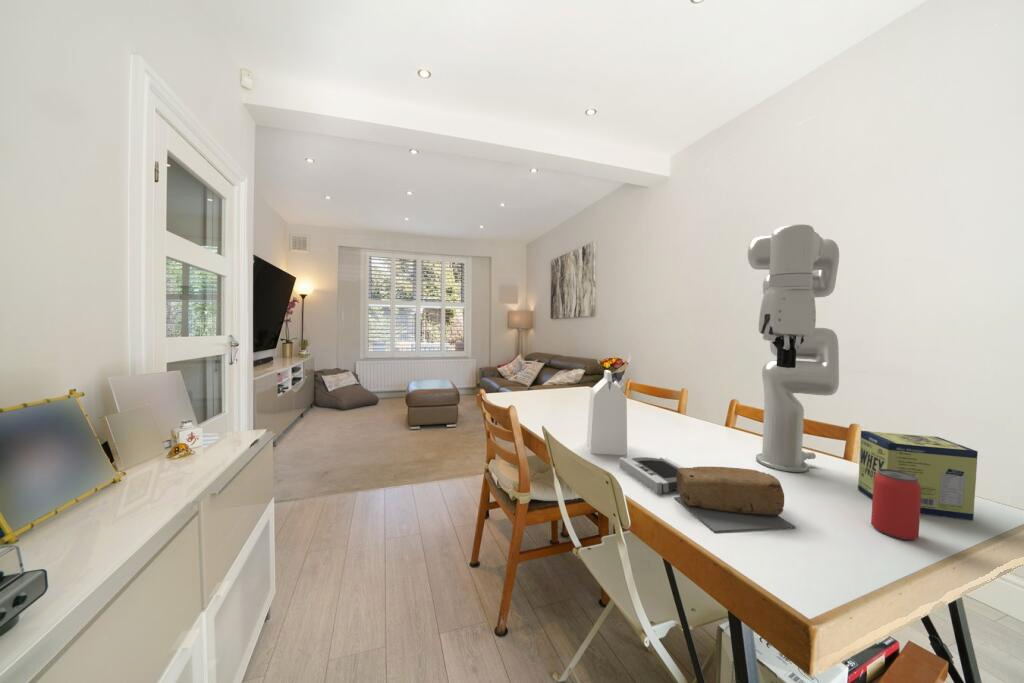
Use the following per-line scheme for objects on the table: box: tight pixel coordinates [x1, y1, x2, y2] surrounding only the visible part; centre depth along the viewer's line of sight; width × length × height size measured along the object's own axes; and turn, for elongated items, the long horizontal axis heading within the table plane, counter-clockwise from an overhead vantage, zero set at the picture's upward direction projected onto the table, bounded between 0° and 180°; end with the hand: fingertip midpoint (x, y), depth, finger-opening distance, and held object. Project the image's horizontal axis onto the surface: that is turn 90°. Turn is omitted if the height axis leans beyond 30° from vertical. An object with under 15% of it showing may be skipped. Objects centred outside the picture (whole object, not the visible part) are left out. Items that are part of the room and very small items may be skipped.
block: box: [676, 466, 785, 516], centre depth 82 cm, size 11×8×20 cm
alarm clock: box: [619, 456, 684, 495], centre depth 97 cm, size 17×5×16 cm
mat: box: [674, 496, 797, 533], centre depth 79 cm, size 18×14×1 cm
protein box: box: [857, 430, 979, 521], centre depth 84 cm, size 10×16×16 cm
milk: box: [586, 369, 628, 456], centre depth 120 cm, size 12×12×26 cm
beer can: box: [870, 469, 921, 541], centre depth 72 cm, size 7×7×12 cm
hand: (785, 367), depth 79 cm, fingers closed
